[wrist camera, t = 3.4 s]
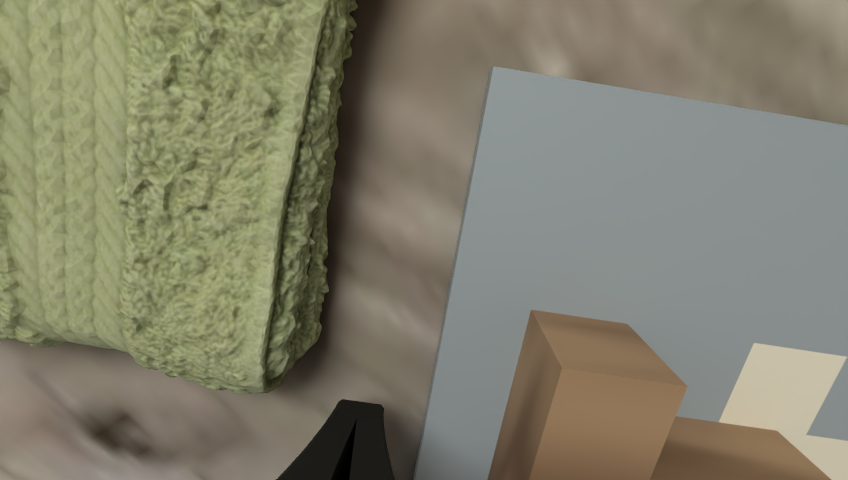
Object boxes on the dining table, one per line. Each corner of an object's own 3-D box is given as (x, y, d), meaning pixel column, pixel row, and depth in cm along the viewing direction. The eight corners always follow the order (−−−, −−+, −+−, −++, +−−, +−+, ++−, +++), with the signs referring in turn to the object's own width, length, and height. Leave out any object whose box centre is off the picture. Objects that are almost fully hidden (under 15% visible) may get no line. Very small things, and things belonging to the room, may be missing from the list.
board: (857, 647, 17) (872, 665, 17) (392, 588, 17) (390, 605, 16) (1183, 184, 11) (1223, 188, 11) (489, 68, 11) (493, 66, 10)
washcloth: (430, -295, 9) (429, -508, 6) (321, 366, 14) (291, 436, 11) (-177, -461, 8) (-524, -790, 5) (-64, 291, 14) (-209, 342, 10)
